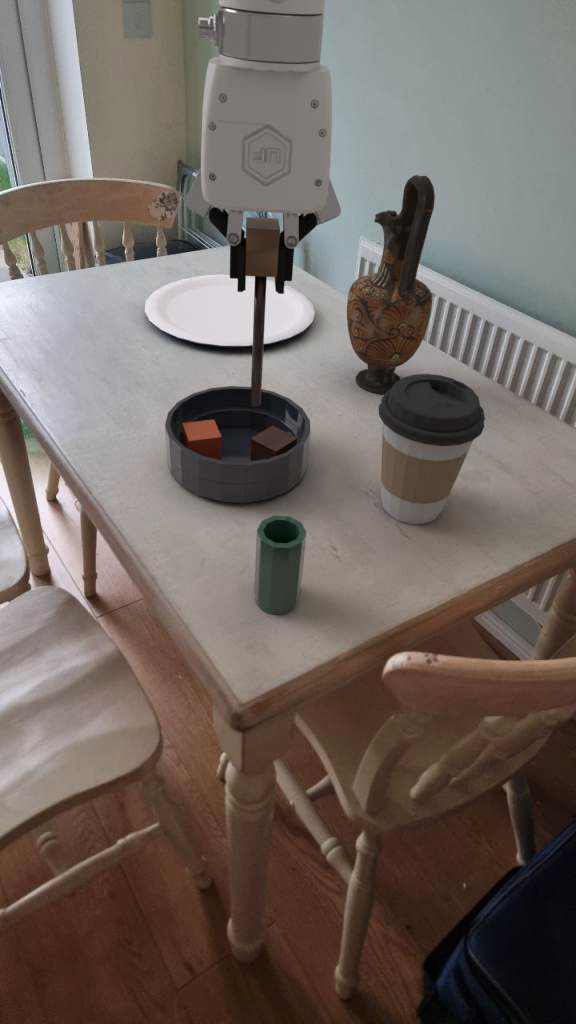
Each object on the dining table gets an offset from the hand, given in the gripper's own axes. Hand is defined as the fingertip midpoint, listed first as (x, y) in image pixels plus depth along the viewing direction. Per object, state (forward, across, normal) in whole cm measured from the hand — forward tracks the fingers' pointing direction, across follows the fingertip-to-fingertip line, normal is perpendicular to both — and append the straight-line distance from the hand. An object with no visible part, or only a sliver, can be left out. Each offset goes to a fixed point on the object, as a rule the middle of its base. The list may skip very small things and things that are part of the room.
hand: (260, 285), depth 62 cm
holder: (+27, +2, -13) cm, 30 cm away
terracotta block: (+26, -6, +10) cm, 29 cm away
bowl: (+27, -2, +10) cm, 29 cm away
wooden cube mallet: (+12, 0, 0) cm, 12 cm away
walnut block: (+26, +3, +9) cm, 28 cm away
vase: (+27, +19, +31) cm, 45 cm away
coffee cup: (+27, +19, +2) cm, 33 cm away
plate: (+27, -3, +54) cm, 60 cm away
